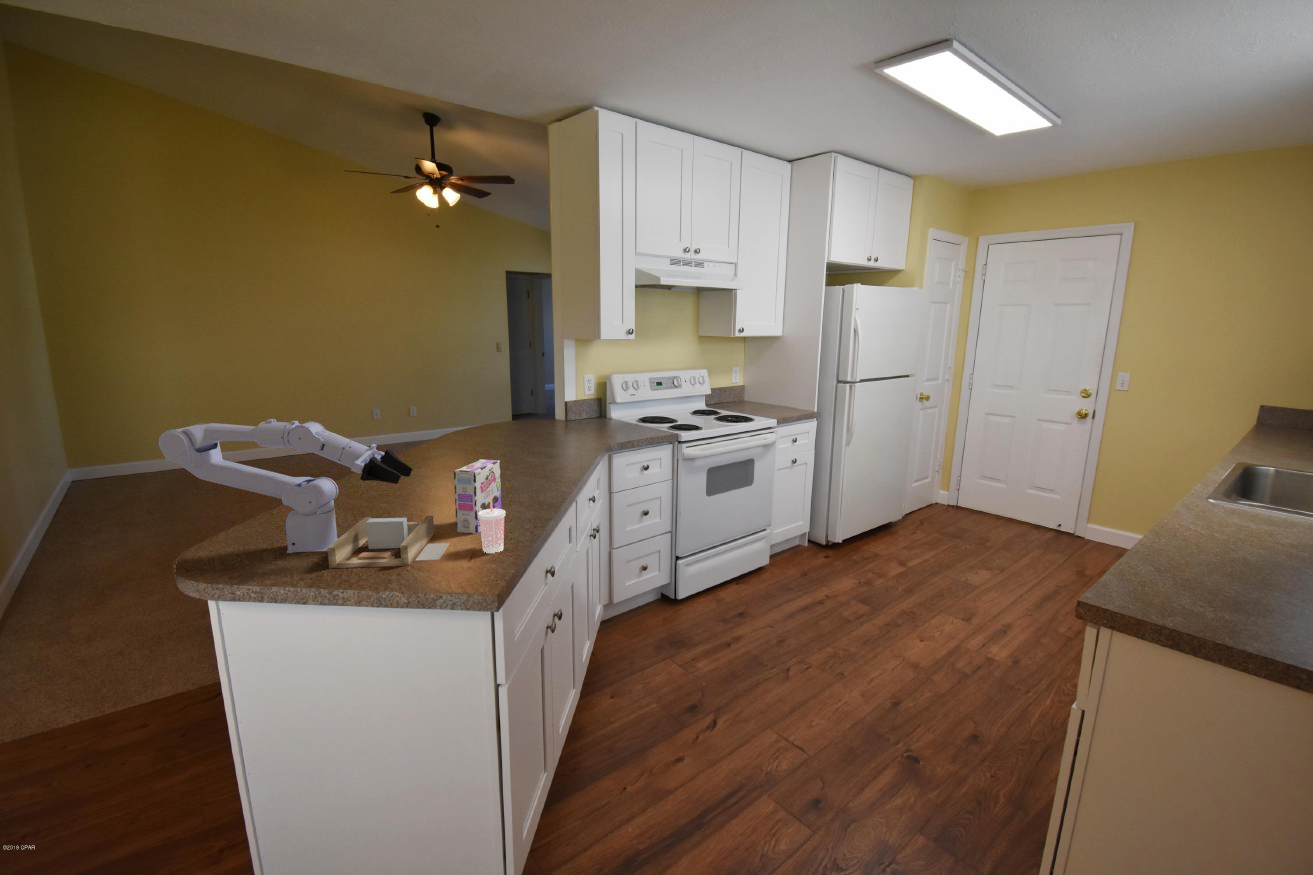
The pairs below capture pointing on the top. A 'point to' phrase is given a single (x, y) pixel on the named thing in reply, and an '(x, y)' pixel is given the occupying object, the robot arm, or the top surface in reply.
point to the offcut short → (374, 555)
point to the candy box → (476, 493)
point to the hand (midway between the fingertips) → (405, 476)
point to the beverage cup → (492, 528)
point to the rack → (358, 535)
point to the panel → (386, 532)
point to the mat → (432, 551)
